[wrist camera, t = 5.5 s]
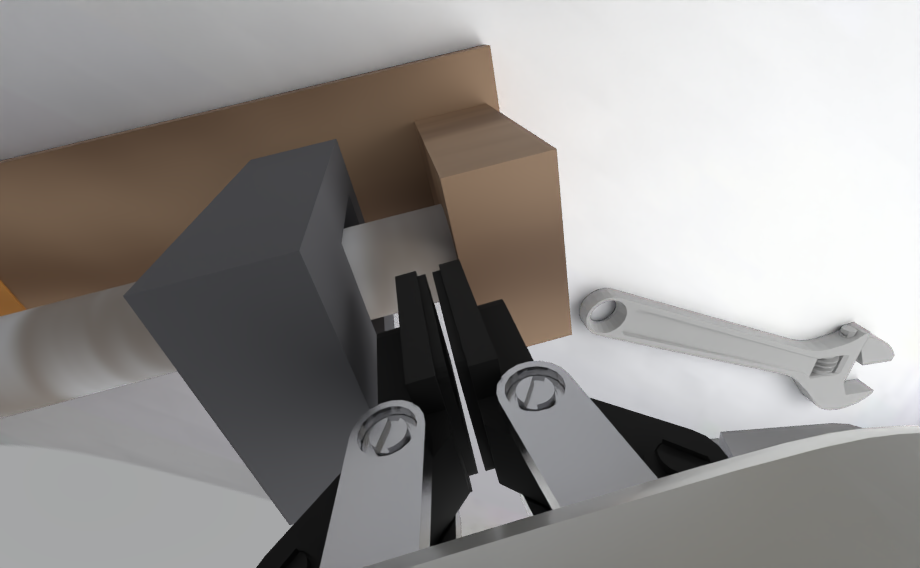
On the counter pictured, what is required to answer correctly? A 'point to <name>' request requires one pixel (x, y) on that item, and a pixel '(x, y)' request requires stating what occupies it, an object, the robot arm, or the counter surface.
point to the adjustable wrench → (745, 345)
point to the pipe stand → (220, 159)
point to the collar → (272, 319)
